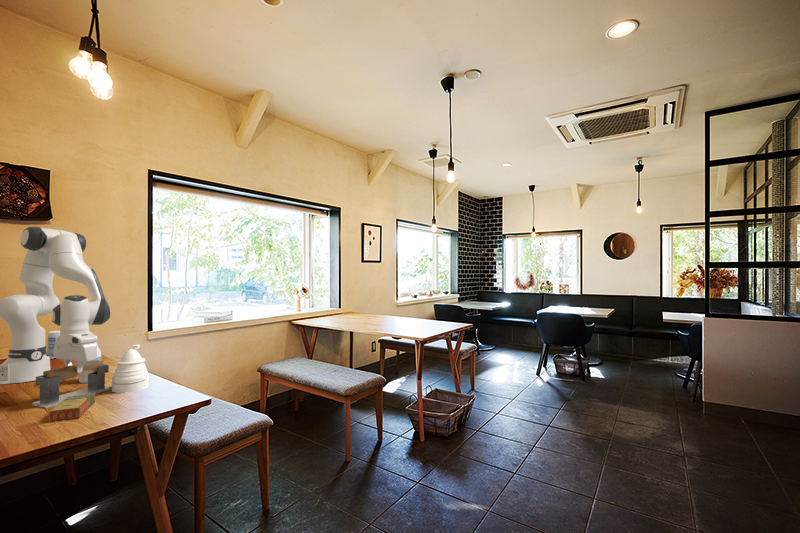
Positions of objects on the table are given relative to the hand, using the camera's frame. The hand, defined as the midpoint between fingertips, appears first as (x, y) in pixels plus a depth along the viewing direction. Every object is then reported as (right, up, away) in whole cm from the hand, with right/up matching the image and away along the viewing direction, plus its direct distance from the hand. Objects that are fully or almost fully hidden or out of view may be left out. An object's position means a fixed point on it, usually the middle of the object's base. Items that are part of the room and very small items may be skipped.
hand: (74, 371), depth 146 cm
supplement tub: (-63, -10, +62) cm, 89 cm away
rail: (0, -2, 0) cm, 2 cm away
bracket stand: (0, -10, 0) cm, 10 cm away
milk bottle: (-11, -10, +21) cm, 25 cm away
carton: (+13, -11, -15) cm, 22 cm away
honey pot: (+14, -11, +12) cm, 21 cm away
